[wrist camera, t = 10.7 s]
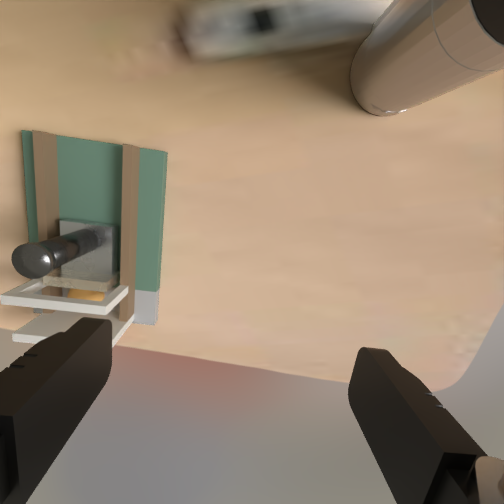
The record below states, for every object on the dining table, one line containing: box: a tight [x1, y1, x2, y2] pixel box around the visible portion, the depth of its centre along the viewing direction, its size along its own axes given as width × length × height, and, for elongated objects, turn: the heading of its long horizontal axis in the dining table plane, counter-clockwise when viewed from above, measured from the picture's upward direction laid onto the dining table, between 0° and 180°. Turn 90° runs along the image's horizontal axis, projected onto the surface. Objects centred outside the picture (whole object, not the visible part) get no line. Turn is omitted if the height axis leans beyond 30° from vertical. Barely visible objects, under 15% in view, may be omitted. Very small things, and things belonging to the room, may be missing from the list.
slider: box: [12, 219, 120, 292], centre depth 29 cm, size 7×7×10 cm
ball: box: [67, 288, 105, 301], centre depth 34 cm, size 4×4×4 cm
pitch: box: [0, 130, 168, 348], centre depth 31 cm, size 23×16×10 cm
